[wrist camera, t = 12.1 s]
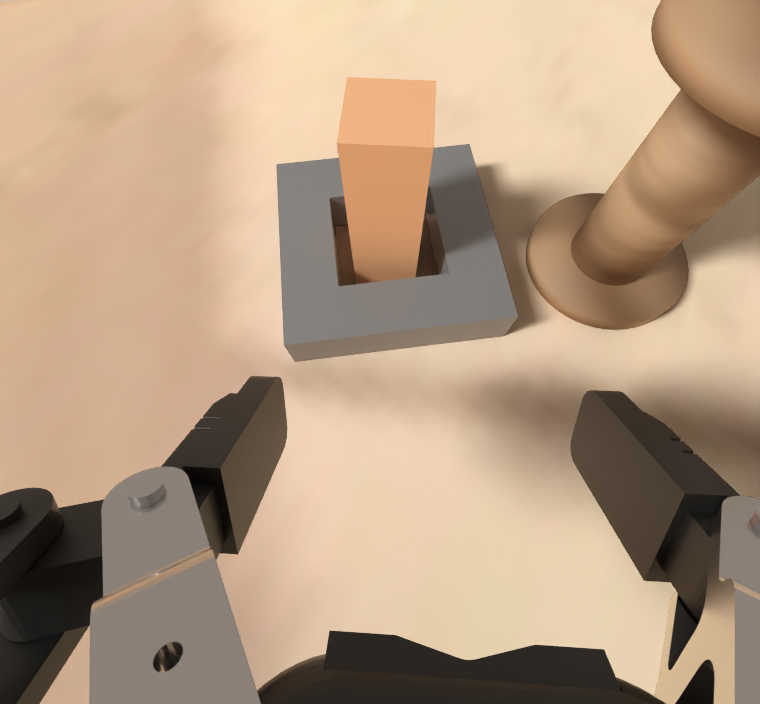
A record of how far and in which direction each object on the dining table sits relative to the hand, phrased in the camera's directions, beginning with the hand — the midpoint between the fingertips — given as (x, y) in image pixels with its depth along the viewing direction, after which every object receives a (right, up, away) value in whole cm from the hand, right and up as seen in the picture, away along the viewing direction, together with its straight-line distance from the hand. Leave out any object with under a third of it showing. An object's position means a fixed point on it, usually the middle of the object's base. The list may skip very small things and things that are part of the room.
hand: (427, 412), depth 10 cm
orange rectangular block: (-1, +7, +13) cm, 15 cm away
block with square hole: (-1, +7, +13) cm, 15 cm away
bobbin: (+12, +7, +13) cm, 19 cm away
